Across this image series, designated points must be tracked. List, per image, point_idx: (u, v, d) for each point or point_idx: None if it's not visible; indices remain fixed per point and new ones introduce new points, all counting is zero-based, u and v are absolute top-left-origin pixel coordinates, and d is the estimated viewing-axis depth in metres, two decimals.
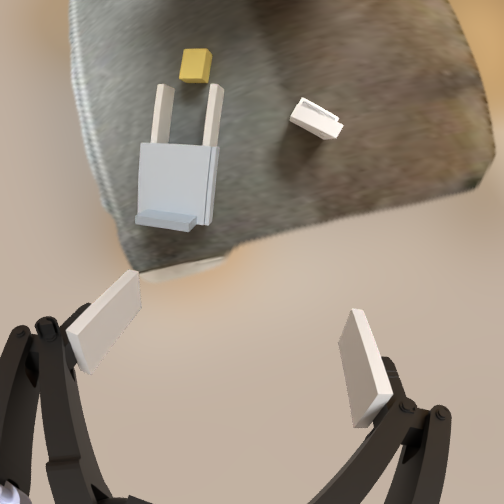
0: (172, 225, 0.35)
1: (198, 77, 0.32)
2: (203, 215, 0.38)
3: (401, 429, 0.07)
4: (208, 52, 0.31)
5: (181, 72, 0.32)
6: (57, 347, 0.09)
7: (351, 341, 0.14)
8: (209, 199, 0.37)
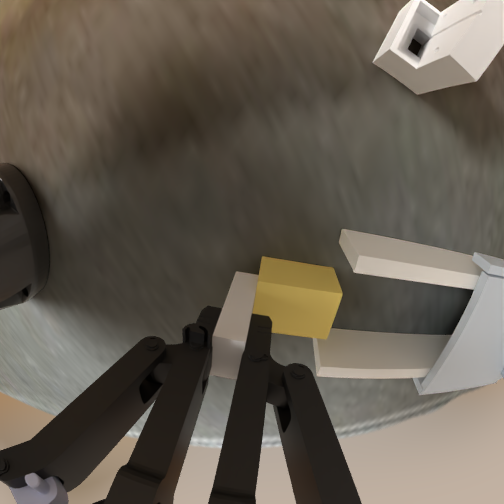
0: None
1: (338, 300, 0.15)
2: None
3: (260, 378, 0.10)
4: (264, 273, 0.16)
5: (312, 334, 0.17)
6: (199, 359, 0.10)
7: None
8: None
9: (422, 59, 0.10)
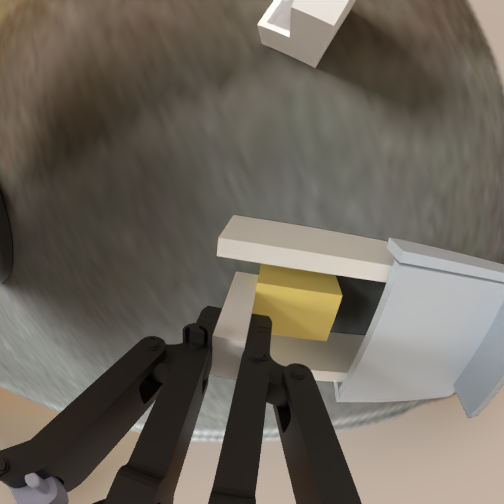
0: None
1: (337, 302, 0.15)
2: None
3: (260, 378, 0.10)
4: (264, 274, 0.16)
5: (312, 336, 0.16)
6: (199, 358, 0.10)
7: None
8: (491, 273, 0.11)
9: None
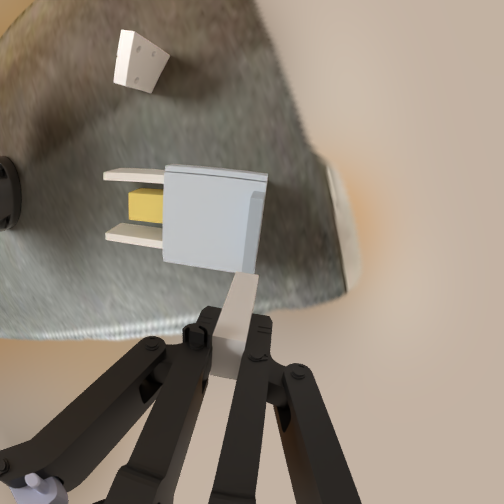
0: (254, 223, 0.25)
1: None
2: (252, 181, 0.27)
3: (261, 378, 0.10)
4: (134, 191, 0.32)
5: (156, 220, 0.32)
6: (199, 358, 0.10)
7: None
8: (230, 173, 0.27)
9: None
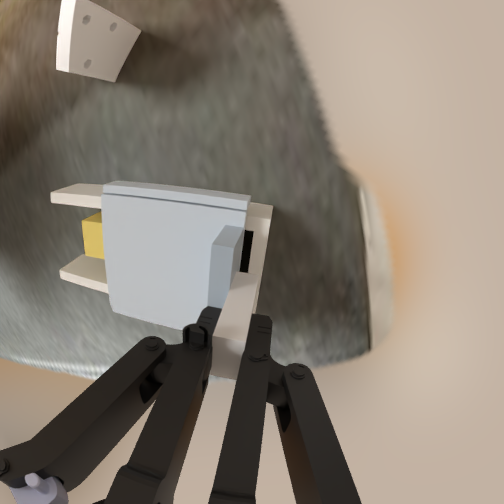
0: (220, 284, 0.15)
1: None
2: (224, 210, 0.17)
3: (260, 378, 0.10)
4: (90, 217, 0.22)
5: None
6: (199, 359, 0.10)
7: None
8: (190, 196, 0.17)
9: None
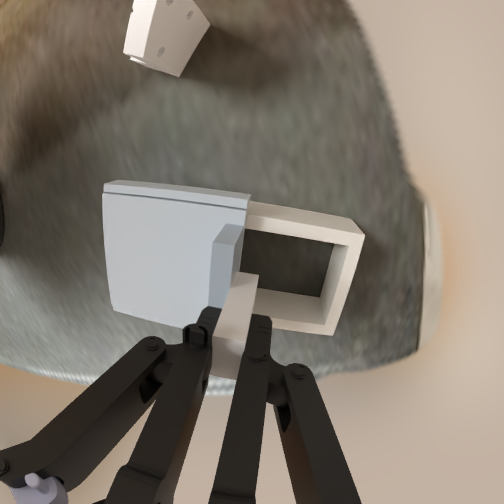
0: (221, 282, 0.15)
1: None
2: (224, 209, 0.18)
3: (260, 378, 0.10)
4: None
5: None
6: (199, 358, 0.10)
7: None
8: (191, 195, 0.18)
9: None
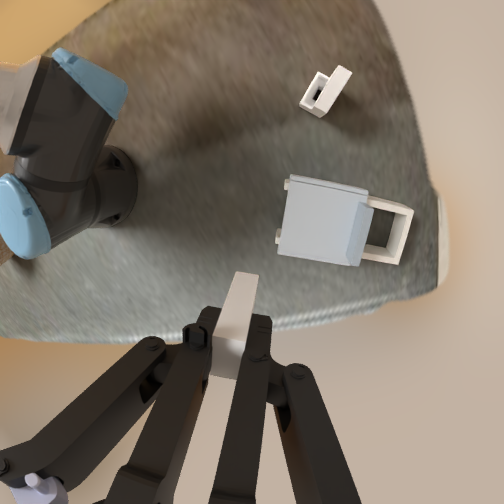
0: (366, 225, 0.33)
1: None
2: (358, 194, 0.35)
3: (261, 378, 0.10)
4: None
5: None
6: (199, 358, 0.10)
7: None
8: (343, 186, 0.35)
9: None
